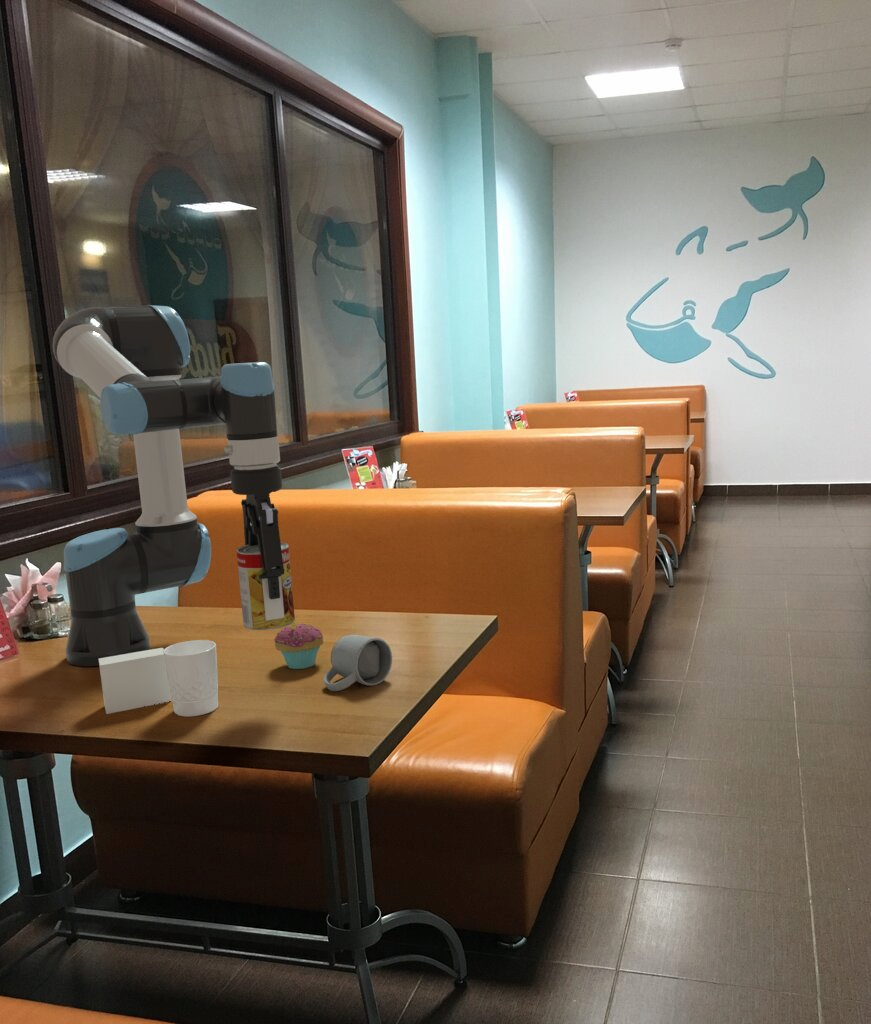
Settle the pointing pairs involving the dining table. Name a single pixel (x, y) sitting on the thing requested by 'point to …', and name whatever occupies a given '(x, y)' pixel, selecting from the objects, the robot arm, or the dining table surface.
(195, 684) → the white cup
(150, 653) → the off-white rectangular block
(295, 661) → the cupcake
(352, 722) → the dining table surface
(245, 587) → the canned food
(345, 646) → the ceramic mug
